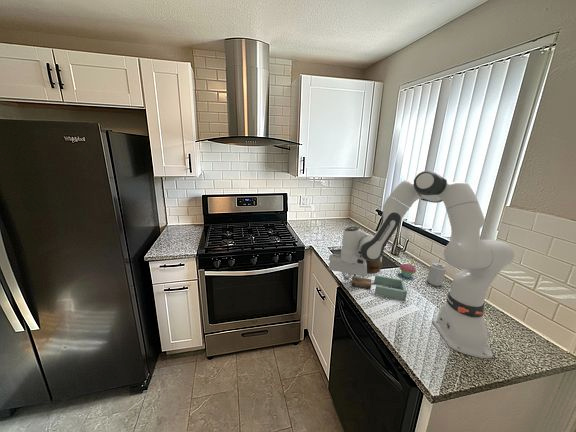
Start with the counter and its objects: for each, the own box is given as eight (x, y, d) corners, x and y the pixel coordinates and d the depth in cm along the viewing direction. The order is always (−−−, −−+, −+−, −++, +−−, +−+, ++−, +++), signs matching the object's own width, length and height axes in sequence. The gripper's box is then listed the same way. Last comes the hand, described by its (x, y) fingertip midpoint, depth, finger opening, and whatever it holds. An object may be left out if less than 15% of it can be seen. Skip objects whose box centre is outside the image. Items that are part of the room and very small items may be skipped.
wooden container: (385, 272, 144) (391, 238, 138) (364, 274, 139) (369, 239, 133) (370, 261, 157) (375, 229, 151) (350, 263, 153) (354, 231, 147)
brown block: (370, 290, 124) (372, 281, 122) (351, 286, 127) (352, 277, 125) (370, 283, 130) (371, 275, 128) (351, 280, 133) (352, 271, 131)
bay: (405, 300, 116) (407, 292, 115) (374, 294, 120) (376, 286, 119) (401, 287, 128) (403, 279, 127) (374, 282, 132) (375, 274, 131)
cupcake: (412, 273, 143) (416, 255, 140) (415, 280, 135) (420, 261, 132) (397, 271, 145) (400, 253, 142) (399, 278, 137) (403, 259, 134)
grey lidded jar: (434, 287, 129) (439, 267, 126) (423, 280, 136) (427, 261, 133) (445, 286, 131) (450, 266, 128) (434, 279, 138) (438, 260, 135)
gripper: (328, 255, 126) (326, 278, 130) (368, 262, 120) (365, 286, 124) (330, 251, 132) (328, 273, 136) (368, 257, 126) (365, 280, 130)
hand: (346, 279), depth 130 cm, fingers closed
